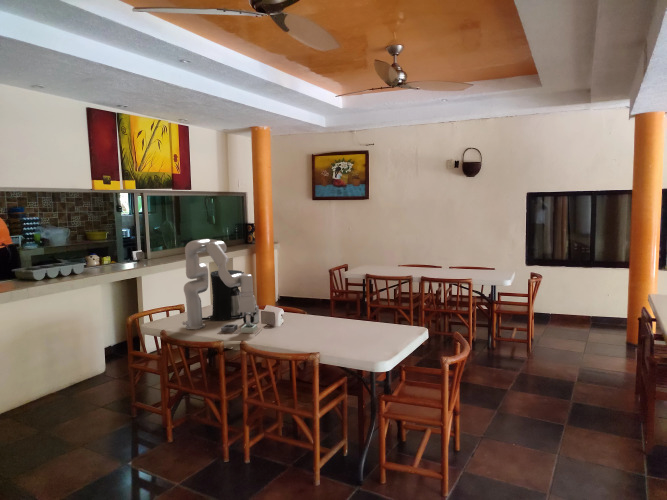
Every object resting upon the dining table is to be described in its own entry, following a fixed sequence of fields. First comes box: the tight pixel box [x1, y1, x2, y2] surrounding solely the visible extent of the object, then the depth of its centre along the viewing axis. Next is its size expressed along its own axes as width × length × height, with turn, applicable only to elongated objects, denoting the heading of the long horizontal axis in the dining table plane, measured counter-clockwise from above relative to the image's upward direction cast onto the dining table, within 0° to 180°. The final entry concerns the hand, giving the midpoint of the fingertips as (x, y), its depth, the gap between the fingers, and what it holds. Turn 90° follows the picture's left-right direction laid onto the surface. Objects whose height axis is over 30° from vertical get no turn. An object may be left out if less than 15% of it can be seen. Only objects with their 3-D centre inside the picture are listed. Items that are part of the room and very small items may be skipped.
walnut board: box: [216, 323, 262, 335], centre depth 298 cm, size 25×14×4 cm, turn 83°
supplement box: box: [246, 305, 260, 324], centre depth 317 cm, size 7×7×13 cm
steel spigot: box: [245, 313, 252, 327], centre depth 296 cm, size 4×4×10 cm
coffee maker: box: [202, 269, 245, 322], centre depth 336 cm, size 23×32×34 cm
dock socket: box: [240, 323, 258, 333], centre depth 297 cm, size 8×8×3 cm
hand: (248, 322), depth 296 cm, fingers closed on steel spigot, 4 cm apart
